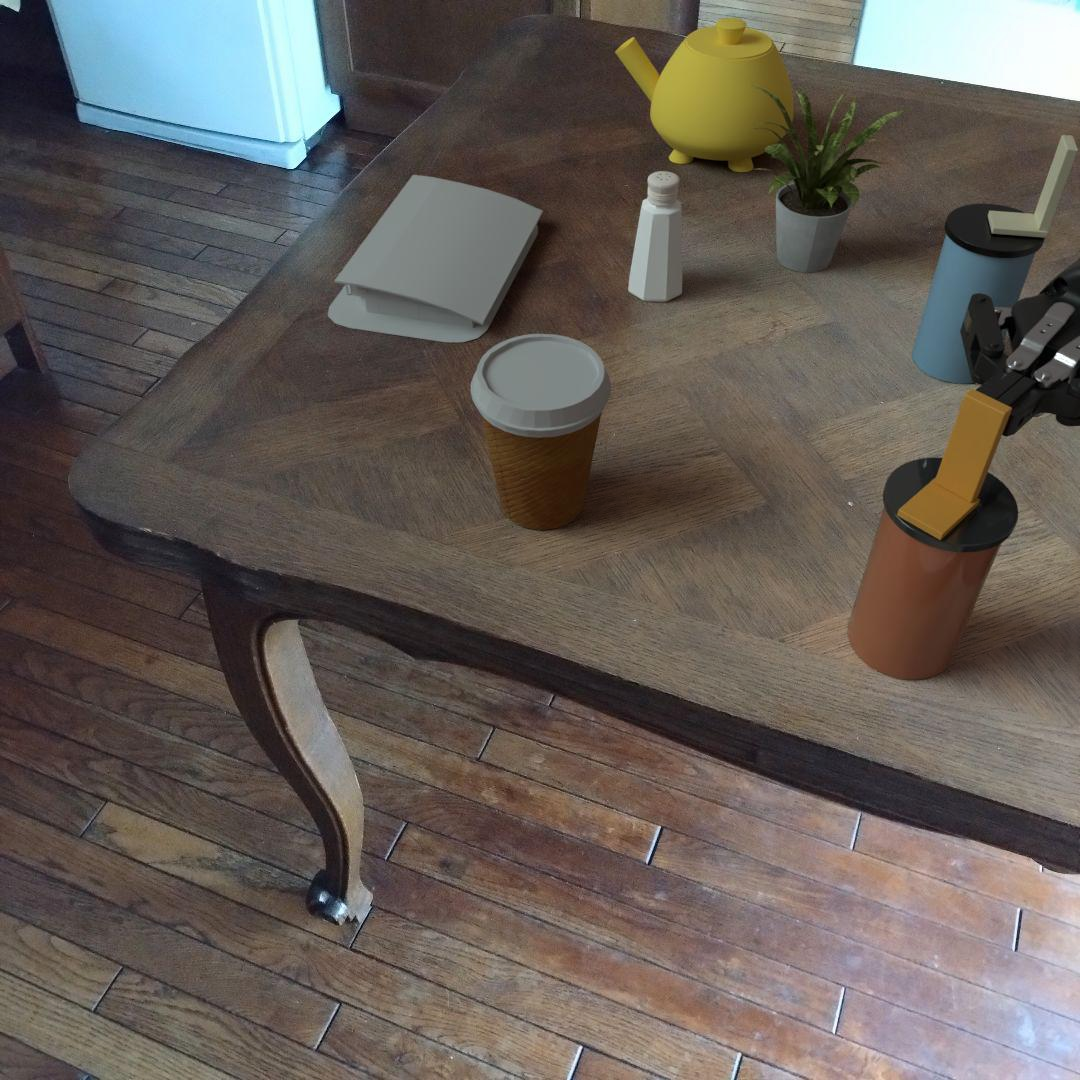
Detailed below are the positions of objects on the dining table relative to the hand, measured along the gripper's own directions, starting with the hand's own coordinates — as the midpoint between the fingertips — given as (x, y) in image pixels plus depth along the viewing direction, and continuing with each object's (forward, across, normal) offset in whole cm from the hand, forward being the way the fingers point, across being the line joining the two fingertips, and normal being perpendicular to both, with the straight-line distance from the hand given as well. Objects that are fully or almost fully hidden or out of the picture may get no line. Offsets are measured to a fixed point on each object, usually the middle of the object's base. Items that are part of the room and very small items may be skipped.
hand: (984, 421), depth 57 cm
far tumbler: (-29, -14, +18) cm, 37 cm away
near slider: (+2, 0, +5) cm, 6 cm away
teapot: (-45, -56, +18) cm, 74 cm away
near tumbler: (+1, 0, +18) cm, 18 cm away
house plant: (-33, -34, +18) cm, 51 cm away
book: (-7, -57, +18) cm, 60 cm away
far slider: (-30, -13, +5) cm, 33 cm away
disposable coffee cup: (+8, -26, +18) cm, 33 cm away
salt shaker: (-20, -40, +18) cm, 48 cm away
